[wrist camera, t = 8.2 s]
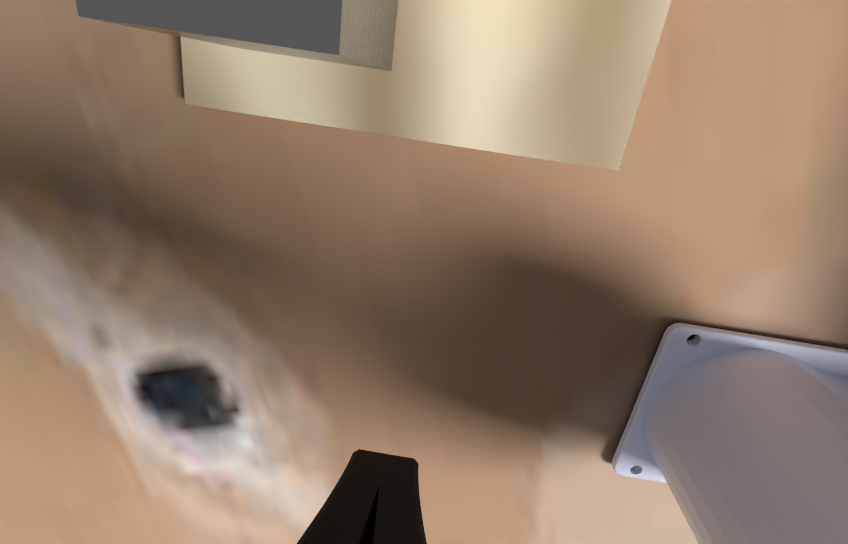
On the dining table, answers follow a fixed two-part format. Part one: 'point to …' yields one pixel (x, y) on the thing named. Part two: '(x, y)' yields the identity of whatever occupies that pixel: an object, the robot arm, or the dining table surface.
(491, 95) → the shaft stand
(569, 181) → the dining table surface
